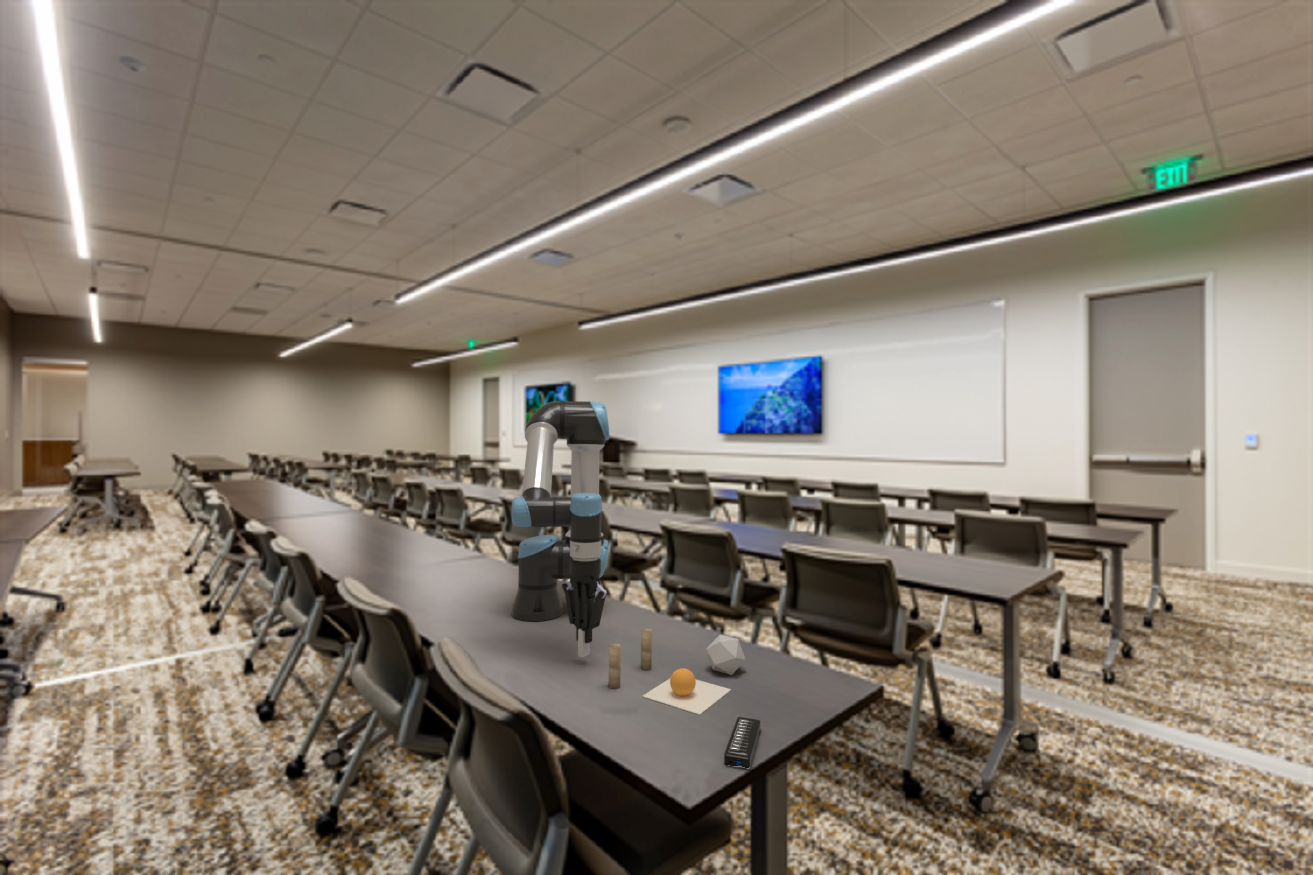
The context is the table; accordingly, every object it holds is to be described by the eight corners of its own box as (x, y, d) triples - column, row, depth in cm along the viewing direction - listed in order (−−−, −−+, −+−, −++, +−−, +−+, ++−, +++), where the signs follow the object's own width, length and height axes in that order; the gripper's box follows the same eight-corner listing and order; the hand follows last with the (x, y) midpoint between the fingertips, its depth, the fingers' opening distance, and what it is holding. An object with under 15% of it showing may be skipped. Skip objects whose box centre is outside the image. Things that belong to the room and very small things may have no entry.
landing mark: (676, 674, 140) (676, 674, 140) (731, 690, 132) (731, 689, 132) (642, 696, 128) (642, 695, 128) (699, 715, 121) (699, 714, 121)
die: (751, 672, 144) (738, 633, 149) (745, 666, 137) (732, 625, 142) (718, 683, 145) (707, 643, 150) (711, 677, 138) (699, 635, 143)
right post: (644, 664, 146) (645, 627, 146) (653, 667, 144) (654, 629, 144) (638, 668, 144) (639, 630, 143) (647, 671, 142) (648, 632, 142)
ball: (696, 696, 131) (676, 683, 134) (703, 673, 130) (682, 660, 133) (683, 704, 126) (662, 690, 129) (690, 680, 126) (668, 667, 129)
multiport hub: (760, 731, 116) (760, 719, 116) (749, 772, 102) (749, 758, 102) (737, 727, 117) (737, 715, 117) (723, 767, 103) (723, 754, 103)
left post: (613, 682, 135) (613, 642, 135) (622, 685, 134) (623, 645, 134) (606, 686, 133) (606, 646, 133) (615, 689, 132) (616, 648, 132)
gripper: (554, 556, 146) (553, 653, 147) (596, 564, 139) (595, 666, 140) (575, 551, 153) (573, 644, 153) (616, 558, 146) (614, 656, 146)
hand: (583, 654), depth 146 cm, fingers closed
